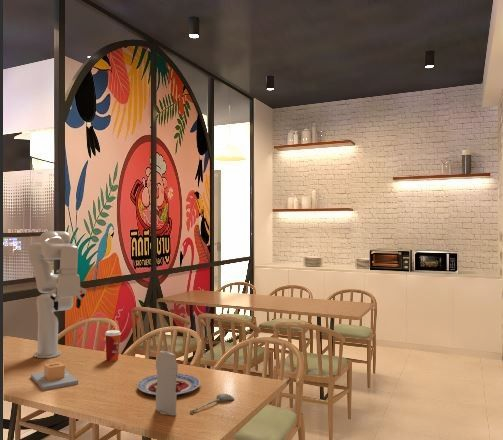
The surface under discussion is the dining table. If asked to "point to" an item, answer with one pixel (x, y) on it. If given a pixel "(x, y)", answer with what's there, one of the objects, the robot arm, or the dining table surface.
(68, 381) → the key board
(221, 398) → the soupspoon
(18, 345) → the dining table surface
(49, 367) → the tan slotted block
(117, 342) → the paper cup
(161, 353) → the tall pale column
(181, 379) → the ceramic plate
